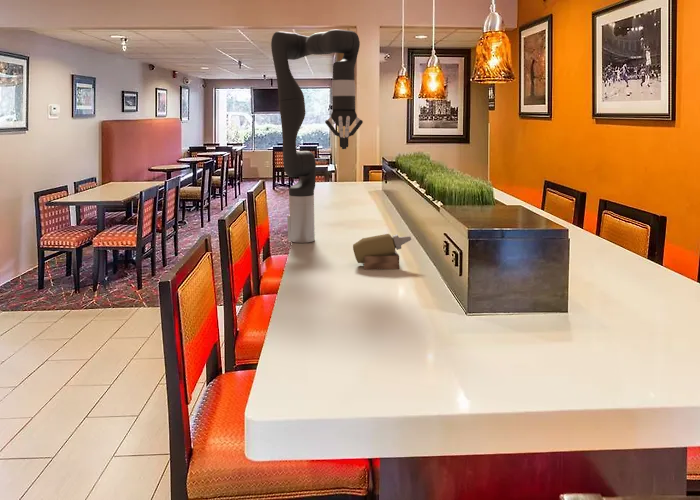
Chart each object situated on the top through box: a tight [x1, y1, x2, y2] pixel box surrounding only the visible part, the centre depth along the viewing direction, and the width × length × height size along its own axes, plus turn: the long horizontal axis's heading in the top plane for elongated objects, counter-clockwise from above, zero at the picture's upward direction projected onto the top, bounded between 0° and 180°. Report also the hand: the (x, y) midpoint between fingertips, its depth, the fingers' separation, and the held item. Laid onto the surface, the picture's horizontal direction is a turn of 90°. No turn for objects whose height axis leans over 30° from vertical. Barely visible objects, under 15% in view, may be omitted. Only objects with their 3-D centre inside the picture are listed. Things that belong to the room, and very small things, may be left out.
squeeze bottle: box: [352, 233, 412, 264], centre depth 184 cm, size 8×8×18 cm
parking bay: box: [363, 249, 400, 271], centre depth 186 cm, size 11×11×4 cm
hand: (344, 148), depth 197 cm, fingers closed
